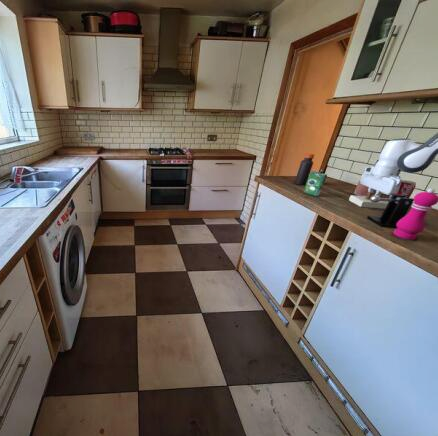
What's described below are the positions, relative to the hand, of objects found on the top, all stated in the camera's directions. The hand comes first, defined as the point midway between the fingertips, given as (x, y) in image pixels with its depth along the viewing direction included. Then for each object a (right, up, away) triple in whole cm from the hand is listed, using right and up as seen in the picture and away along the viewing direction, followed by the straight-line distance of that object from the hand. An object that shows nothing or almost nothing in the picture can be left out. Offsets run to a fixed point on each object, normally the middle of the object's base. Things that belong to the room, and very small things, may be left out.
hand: (372, 197), depth 121 cm
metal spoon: (-17, -5, -23) cm, 29 cm away
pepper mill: (-17, -19, -30) cm, 39 cm away
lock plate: (0, -4, +2) cm, 4 cm away
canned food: (+13, +3, +17) cm, 21 cm away
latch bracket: (-12, -14, -19) cm, 27 cm away
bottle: (-16, +12, +34) cm, 39 cm away
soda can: (+15, -4, +3) cm, 16 cm away
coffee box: (-22, +3, +15) cm, 27 cm away
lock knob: (0, -1, 0) cm, 1 cm away
